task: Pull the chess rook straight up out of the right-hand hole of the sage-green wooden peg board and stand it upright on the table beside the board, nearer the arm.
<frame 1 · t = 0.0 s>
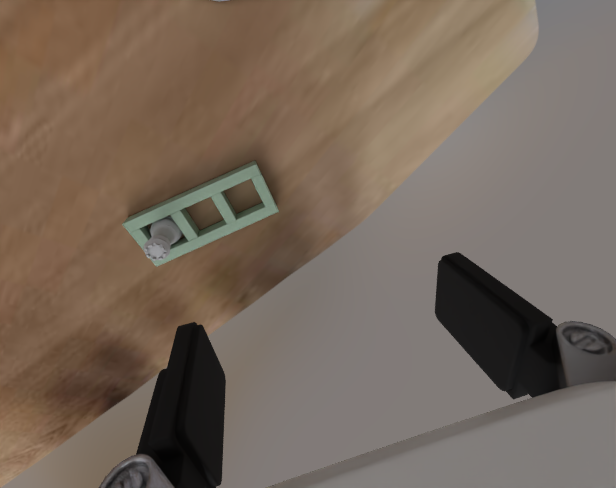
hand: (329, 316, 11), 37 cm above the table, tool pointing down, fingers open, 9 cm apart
rook chess piece: (168, 227, 46), resting in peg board
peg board: (205, 211, 45), on the table
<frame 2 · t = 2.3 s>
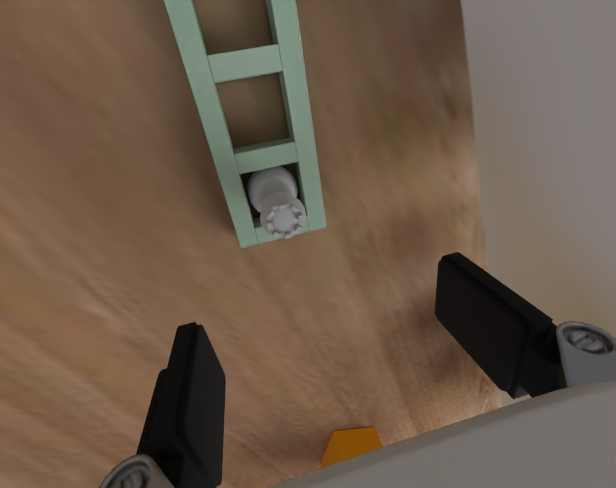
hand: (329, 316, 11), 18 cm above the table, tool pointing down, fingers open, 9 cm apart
orange juice: (347, 443, 50), on the table
rook chess piece: (271, 187, 27), resting in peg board
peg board: (255, 112, 23), on the table
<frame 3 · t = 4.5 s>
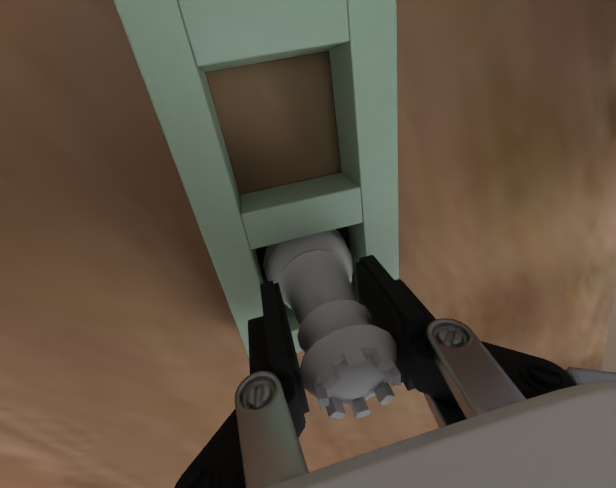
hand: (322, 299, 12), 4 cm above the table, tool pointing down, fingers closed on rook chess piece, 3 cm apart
rook chess piece: (304, 255, 16), resting in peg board, touching gripper
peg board: (280, 127, 12), on the table
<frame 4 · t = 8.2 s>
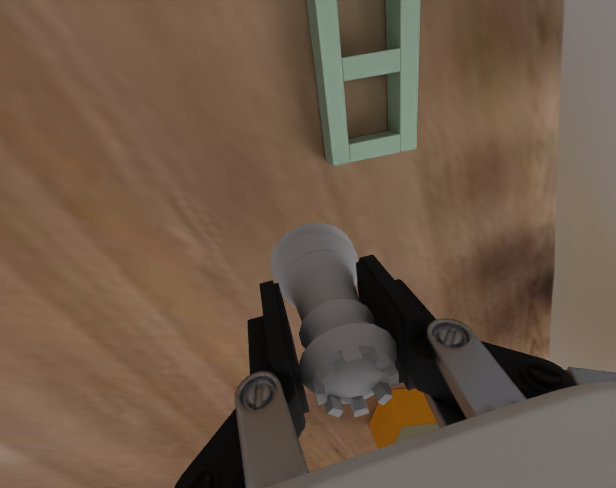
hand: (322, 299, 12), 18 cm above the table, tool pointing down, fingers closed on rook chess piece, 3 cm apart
orange juice: (395, 405, 50), on the table
rook chess piece: (311, 256, 16), point 14 cm above the table, touching gripper
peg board: (357, 21, 23), on the table
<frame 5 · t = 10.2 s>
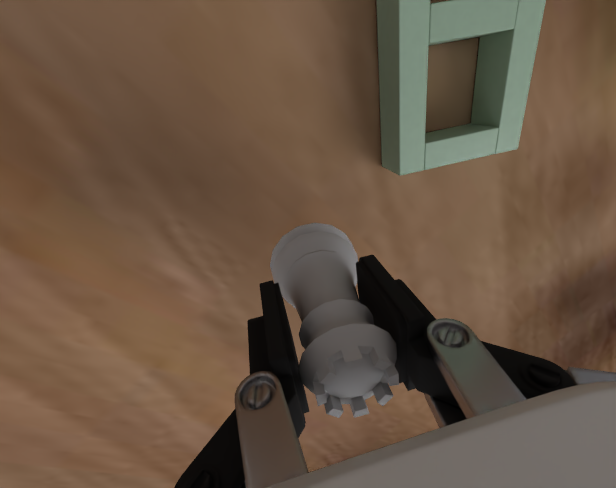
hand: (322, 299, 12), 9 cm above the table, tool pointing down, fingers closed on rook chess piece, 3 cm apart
rook chess piece: (311, 256, 16), point 5 cm above the table, touching gripper
when the fingers open (4 cm above the table, at t = 11.7 s): rook chess piece stays where it is, on the table.
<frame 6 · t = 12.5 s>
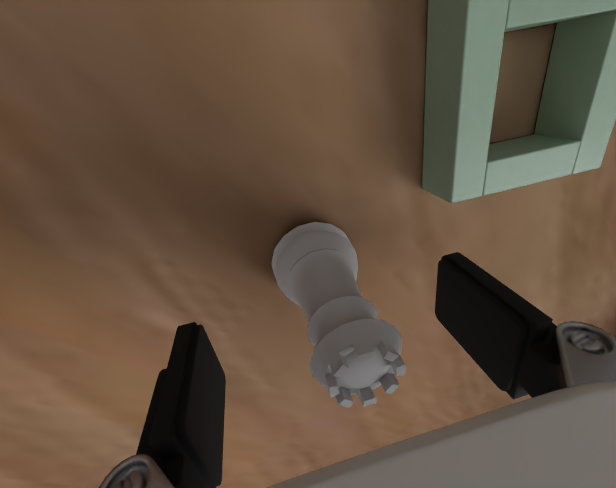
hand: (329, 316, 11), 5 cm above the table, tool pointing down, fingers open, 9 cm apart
rook chess piece: (310, 254, 16), on the table
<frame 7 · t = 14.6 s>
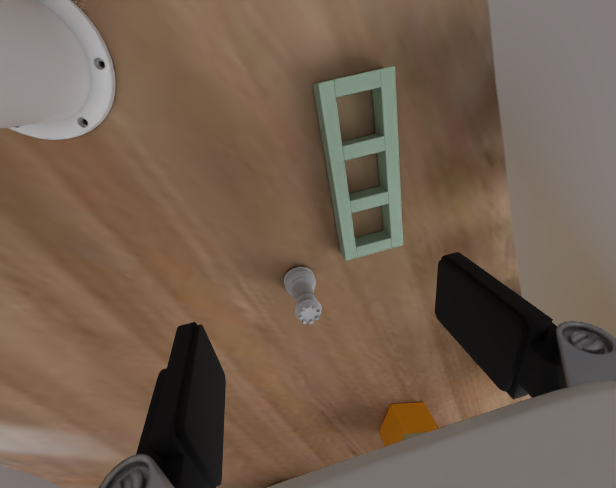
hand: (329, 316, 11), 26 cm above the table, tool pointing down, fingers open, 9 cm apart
orange juice: (400, 415, 61), on the table
rook chess piece: (298, 277, 41), on the table
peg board: (359, 171, 36), on the table
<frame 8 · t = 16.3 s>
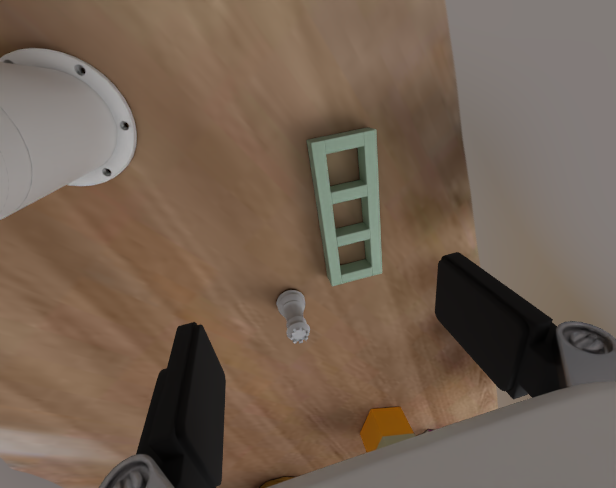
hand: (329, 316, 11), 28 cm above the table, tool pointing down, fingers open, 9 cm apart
orange juice: (379, 419, 67), on the table
rook chess piece: (290, 299, 46), on the table
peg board: (345, 210, 41), on the table
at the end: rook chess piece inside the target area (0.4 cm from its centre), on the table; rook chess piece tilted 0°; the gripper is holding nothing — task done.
